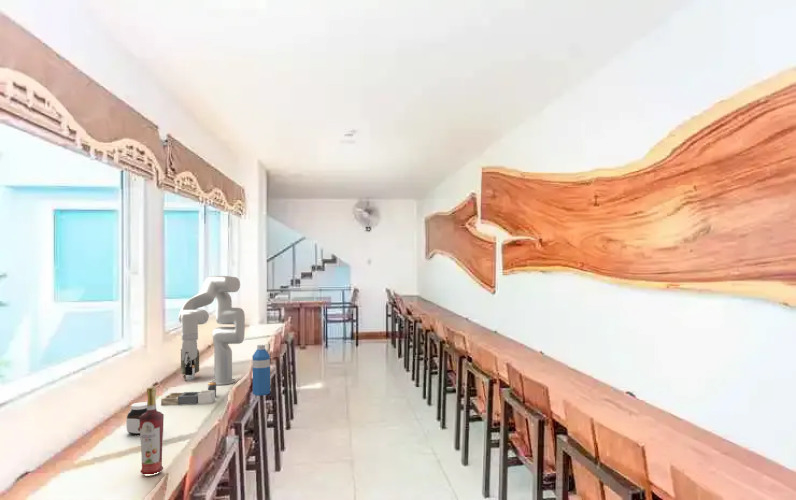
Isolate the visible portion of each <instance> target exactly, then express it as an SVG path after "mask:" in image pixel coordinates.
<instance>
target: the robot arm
mask: <svg viewBox="0 0 796 500" xmlns="http://www.w3.org/2000/svg"><path fill="white" fill-rule="evenodd" d="M240 288H241V282H240V279H239V278H238V277H236V276H229V275H210V276H208V277H206V278H205V280H204V282H203V284H202V286H201V288H200V290H199V292H198V293H197V294H196V295H194V296H192V297H191V298H189V299H188V300H186V302H184V303H183V305H182V307H181V309H180V311H179V313H178V322H179V323H180V324H181V341H182V344H181V349H182V361H184V360H185V361H184V363H185V374H186V375H192V367H191V366H192V365H194V364H196V362H195V359H196V357H197V349H198V340H199V330H198V329H199V328H198V327H199V325H204V324H206V323H207V322H208V321H209V317H210V316H209V314H210V313H209V312H208V311H207V310H206V309H200V308H203V307H206V306H209V305H211V304H212V303H213V302H214V300H215V321H216V323H217V324H218V325H233V326H219V327H215V328H214V329H213V331H212V334H211V335H212V341H213V349H214V353H213V354H214V380H211V382H216V386H225V385H227V386H228V385H232V384H234V383H236V380H235V379H234V378H233V351H232V348H231V347H230V345H232V344H233V345H239V344H242V343H243V342H244V340H245V334H246V333H245V330H246V329H245V328H246V327H245V326H246V323H245V322H246V318H245V317H246V315H245V311H244V309H243V308H241V307H233V306H232V297H231V295H230V294H229V293H237V292H238V291H239V290H240ZM188 359H189V360H188ZM195 372H196V365H195ZM185 374H184V375H185Z"/></svg>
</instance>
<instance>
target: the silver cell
mask: <svg viewBox="0 0 796 500" xmlns="http://www.w3.org/2000/svg"><path fill="white" fill-rule="evenodd" d="M191 367H192V375H186V377H185V378H186V380H187V381H186V382H190V381H194V380H196V373H195V365H192V366H191Z"/></svg>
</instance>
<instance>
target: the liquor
mask: <svg viewBox="0 0 796 500" xmlns="http://www.w3.org/2000/svg"><path fill="white" fill-rule="evenodd" d="M156 392H157V387H155V386H150V387H147V388H146V396H147V401H146V402H147V412H146V413H144V414H142V415H141V416H140V417H139V420H140V435H139V438H140V448H141V449H140V450H141V469H140V473H141V474H142V475H143V474H154V473H157V472H160V471H161V472H162V471H163V470H164V466H163V465H162V464H163V439H164V438H163V437H164V418H165V417H164V415H165V414H164V413H162V412H161V411H158V410H157V403H156V401H157V400H156V395H157V393H156ZM161 472H160V473H161Z"/></svg>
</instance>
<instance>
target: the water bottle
mask: <svg viewBox="0 0 796 500" xmlns="http://www.w3.org/2000/svg"><path fill="white" fill-rule="evenodd" d="M253 394H255V395H254V396H267V395H270V394H271V356H270V353H269V352H268V351H267V350H266V345H265V344H257V345H256V349H255V351H254V352H253V354H252V395H253Z"/></svg>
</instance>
